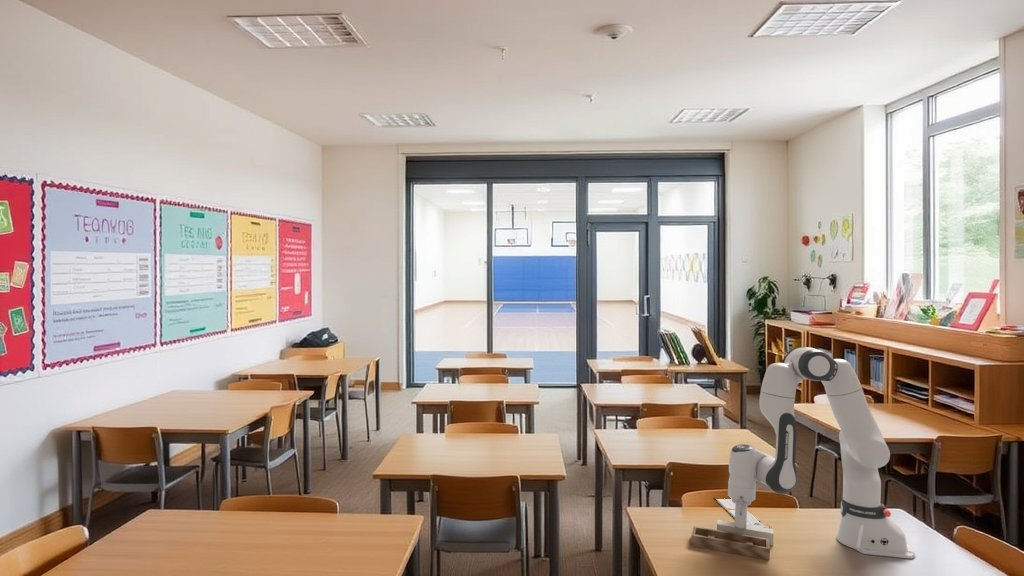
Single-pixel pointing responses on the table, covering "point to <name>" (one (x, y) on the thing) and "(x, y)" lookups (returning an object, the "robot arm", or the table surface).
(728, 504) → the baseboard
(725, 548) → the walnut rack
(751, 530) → the clay strip
